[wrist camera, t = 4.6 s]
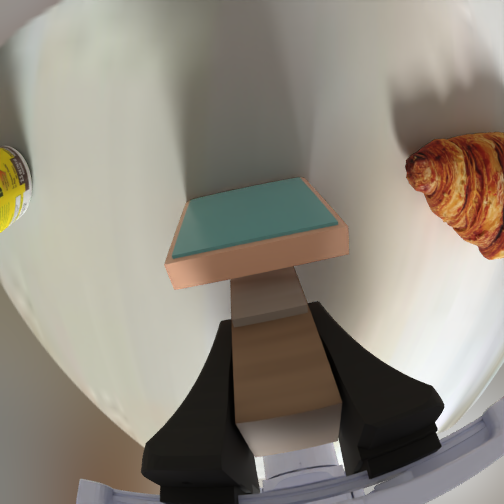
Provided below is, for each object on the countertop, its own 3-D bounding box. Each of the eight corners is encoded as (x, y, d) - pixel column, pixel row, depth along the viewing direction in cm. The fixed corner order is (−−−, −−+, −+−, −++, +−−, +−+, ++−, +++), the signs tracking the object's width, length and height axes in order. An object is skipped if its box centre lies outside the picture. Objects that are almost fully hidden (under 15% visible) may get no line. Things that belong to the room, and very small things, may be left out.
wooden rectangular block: (294, 296, 16) (337, 440, 8) (242, 307, 16) (255, 457, 8) (286, 244, 15) (342, 395, 7) (228, 255, 15) (232, 417, 7)
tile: (306, 196, 17) (348, 254, 11) (191, 219, 17) (174, 290, 11) (303, 174, 16) (347, 223, 10) (186, 199, 17) (162, 261, 10)
